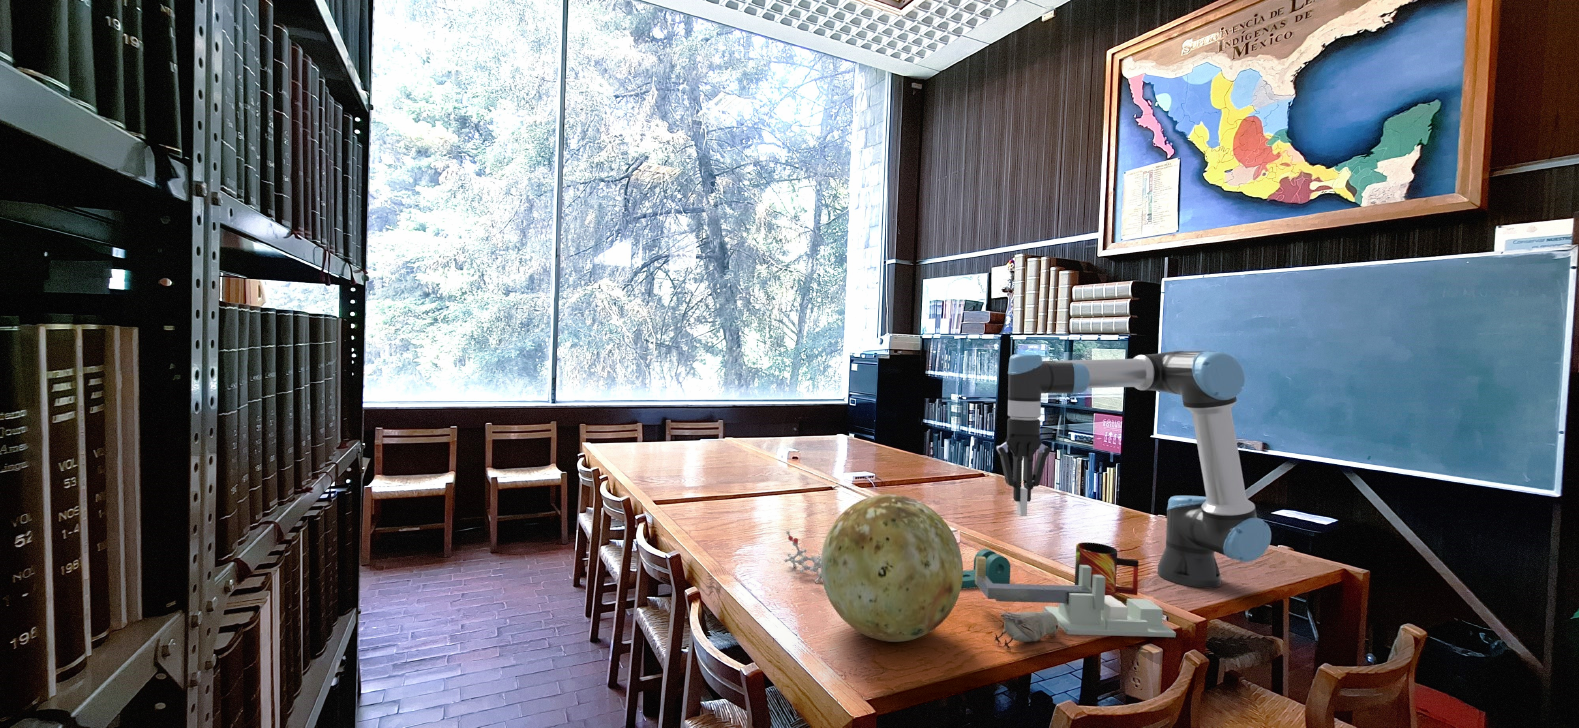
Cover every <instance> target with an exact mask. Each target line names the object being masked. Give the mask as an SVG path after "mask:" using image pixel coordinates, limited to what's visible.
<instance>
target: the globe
mask: <svg viewBox="0 0 1579 728" xmlns="http://www.w3.org/2000/svg"><path fill="white" fill-rule="evenodd" d="M820 558H821V568H820V572H821V576H822V578H821V581H822V585H823V589H824V590H825V594H826V596H827V599H828V601H829V602H830V604H831V606H832V607H833V609H834V611H835V612H836V613H837V615H838V616H839V617H840V618H841V619H842V620H843V621H844V623H846V624H848V625H849V626H850V628H853V629H854V630H856V631H857V632H858V633H861V634H863V635H864V636H866V637H868V638H871V639H875V640H878V641H884V642H892V643H897V642H906V641H908V642H909V641H913V640H915V639H918V638H921V637H923V636H925V635H928V634H929V633H930V632H932V631H934V630H935V629H936V628H938V627H939V626H940V625H941V624H942V623H943V622H944V621H945V620H946V619H947V618H948V616H949V615H951V613H952V611H953V609H954V608H955V606H956V604H957V602H958V600H959V597H960V594H961V590H962V589H961V587H962V580H963V571H964V567H963V565H964V564H963V558H962V553H961V549H960V546H959V543H958V541H957V539H956V537H955V534H954V532H953V530H952V529H951V528H950V526H949V525H948V524H947V522H946V521H945V520H944V518H942V517H941V516H940V515H939V514H938V513H937V512H936V511H935V510H934V509H932V508H931V507H930V506H928V505H926V504H925V503H923V502H921V501H919V500H918V499H917V500H916V499H914V498H912V497H908V496H904V495H899V494H877V495H873V496H869V497H866V498H863V499H862V500H858V501H857V502H855V503H853V504H852V505H850V506H849V507H848V508H847V509H845V510H844V511H843V512H842V513H841V514H840V515H839V516H838V517H837V518H836V519H835V521H834V522H833V524H832V525H831V527H830V528H829V530H828V532H827V534H826V537H825V539H824V541H823V545H822V550H821V556H820Z"/></svg>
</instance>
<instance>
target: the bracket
mask: <svg viewBox="0 0 1579 728" xmlns="http://www.w3.org/2000/svg"><path fill="white" fill-rule="evenodd" d="M976 556H978V557H985V558H986V576H987V577H988V579H989V580H990V581H991V582H992V583H993V584H1011V562H1010V560H1009V559H1008V558H1007V557H1005V556H1003V555H1001V554H999V553H996V552H995V551H993V550H991V549H989V548H982V549H980V550H979V551H978V552H976V553H975V556H974V559H973V569H970V570H963V580H962V587H961V588H967V589H976V587H977V588H979V587H978V586H977V585H976V584H975V569H976ZM974 587H975V588H974Z"/></svg>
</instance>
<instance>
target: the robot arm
mask: <svg viewBox="0 0 1579 728" xmlns="http://www.w3.org/2000/svg"><path fill="white" fill-rule="evenodd" d="M1008 360H1009V362H1008V371H1007V374H1008V376H1007V377H1008V378H1007V379H1008V380H1007V381H1008V384H1007V385H1008V387H1007V391H1008V393H1007V416H1008V419H1007V425H1006V426H1007V428H1006V429H1007V431H1006V432H1007V433H1006V438H1005V440H1004V442H1003V443H1002V444H1001V445H996V446H995V450H996V451H997V453H998V455H999V457H1000V458H999V459H1000V461H1001V466H1002V467H1001V468H1002V471H1003V476H1004V479H1005V483H1006V484H1007V485H1008V486H1010V487H1012V488H1013V492H1012V493H1013V496H1012V497H1013V501H1015V502H1016V514H1017V515H1019V516H1020V517H1028V502H1029V503H1030V502H1031V500H1032V490H1033V489H1034V487H1039V486H1040V483H1041V479H1042V476H1043V472H1044V468H1045V464H1046V461H1047V457H1048V456H1049V454H1050V453H1051V452H1052V449H1051V447H1048V446H1047V445H1045V444H1043V441H1042V439H1041V420H1040V419H1039V418H1040V417H1041V409H1042V407H1041V406H1042V405H1041V404H1042V402H1041V401H1042V394H1069V395H1073V394H1081V393H1084V392H1086V391H1087V389H1095V388H1096V389H1097V388H1100V389H1101V388H1135V389H1137V390H1139V391H1153V392H1154V391H1155V392H1161V393H1166V394H1167V393H1168V394H1172V395H1173V394H1174V395H1180V396H1181V399H1182V400H1181V401H1182V405H1183V407H1184V408H1185V409H1186V410H1188V411H1189V412H1191V416H1192V417H1191V418H1192V423H1193V428H1194V433H1195V434H1194V435H1195V439H1196V445H1197V450H1198V457H1199V462H1200V469H1201V474H1202V480H1203V486H1204V491H1205V496H1199V495H1173V496H1170V498H1169V499H1168V501H1167V503H1168V504H1167V508H1166V534H1165V535H1166V536H1165V537H1166V538H1165V539H1166V541H1165V549H1164V550H1163V553H1162V555H1161V557H1160V559H1159V562H1158V563H1157V575H1158V576H1159V577H1161V578H1163V579H1165V580H1167V581H1169V582H1172V583H1174V584H1180V585H1184V586H1187V587H1188V586H1189V587H1193V588H1203V589H1208V588H1210V589H1211V588H1217V587H1220V586H1221V582H1222V577H1221V573H1220V568H1219V565H1218V563H1217V559H1216V556H1215V553H1218V554H1220V555H1223V556H1225V557H1226V558H1228V559H1231V560H1236V561H1239V562H1244V563H1249V562H1253V561H1256V560H1258V559H1259V558H1261V557H1262V556H1263V555H1264V554H1265V553H1266V551H1267V550H1268V549H1269V547H1270V544H1271V540H1272V531H1271V528H1270V525H1269V524H1268V523H1267V522H1265V521H1264V520H1263V519H1262V518H1259V517H1257V510H1256V504H1255V503H1254V502H1252V501H1251V500H1249V499H1248V498H1247V494H1246V489H1245V488H1246V487H1245V482H1244V478H1243V477H1244V476H1243V471H1242V465H1241V464H1242V463H1241V459H1240V453H1239V448H1238V442H1237V436H1236V430H1235V424H1234V419H1233V414H1232V408H1233V407H1234V406H1235V405H1236V404H1237V402H1238V401H1237V399H1238V398H1237V397H1238V396H1239V395H1240V393H1241V392H1242V390H1243V387H1244V385H1245V382H1246V381H1245V379H1246V378H1245V377H1246V376H1245V371H1244V369H1243V367H1242V365H1241V364H1240V362H1239V361H1238V360H1237V359H1236V358H1235V357H1234V356H1232V355H1230V354H1228V353H1225V352H1221V351H1214V350H1174V351H1167V352H1160V353H1152V354H1137V355H1135V356H1134V357H1133V358H1116V359H1115V358H1113V359H1112V358H1110V359H1074V360H1068V359H1067V360H1043V357H1042V355H1041V354H1021V353H1020V354H1018V353H1017V354H1015V353H1014V354H1012V355H1011V356H1010V357H1009V359H1008ZM1009 450H1010V452H1011V454H1012V459H1013V461H1012V465H1013V467H1011V463H1010V459H1009V455H1008V452H1009ZM1037 450H1038V454H1037V456H1036V460H1035V464H1034V467H1033V461H1034V455H1035V453H1037ZM1022 474H1023V478H1022ZM1022 479H1023V481H1022ZM1022 482H1023V483H1022ZM1022 484H1023V485H1022Z"/></svg>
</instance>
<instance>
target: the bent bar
mask: <svg viewBox="0 0 1579 728" xmlns="http://www.w3.org/2000/svg"><path fill="white" fill-rule="evenodd" d="M975 556H976V555H975ZM975 584H976V585H977V586H978V587H977V588H978V589H979V590H980V591H981V593H983V595H984V596H985V597H986V598H987V599H988V600H995V601H996V602H1007V603H1009V602H1011V603H1013V602H1014V603H1041V604H1042V603H1044V604H1045V603H1046V604H1048V603H1049V604H1050V603H1051V604H1059V603H1069V593H1089V594H1091V590H1090V589H1088V588H1087V587H1086V586H1069V585H1070V584H1028V583H1027V584H1026V583H1025V584H1024V583H1022V584H1021V583H1019V584H1018V583H1010V584H993V583H992V582H991V581H990V580H989V579H988V577H987V576H986V558H985V557H978V556H976V569H975Z"/></svg>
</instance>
